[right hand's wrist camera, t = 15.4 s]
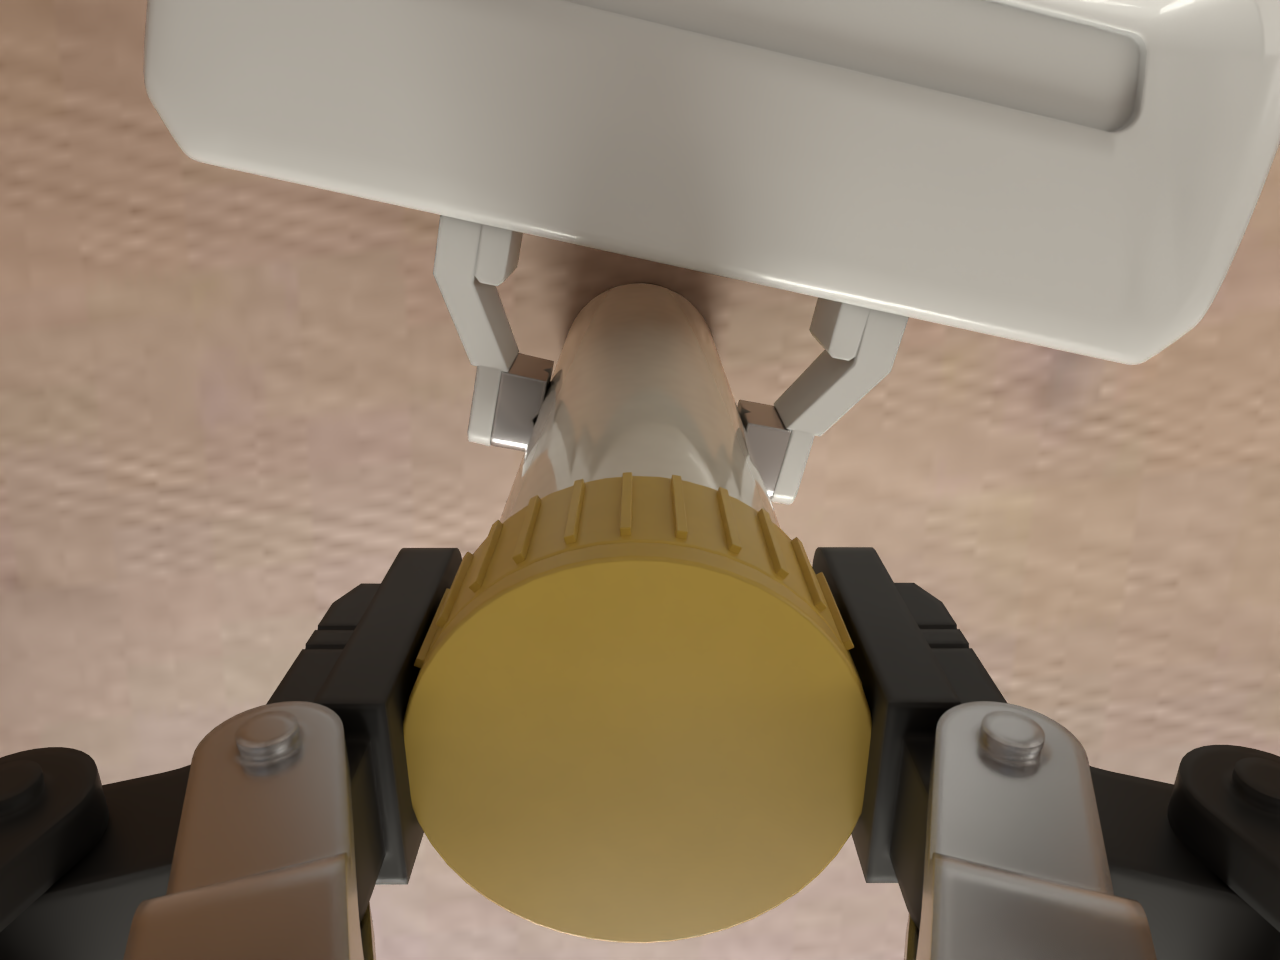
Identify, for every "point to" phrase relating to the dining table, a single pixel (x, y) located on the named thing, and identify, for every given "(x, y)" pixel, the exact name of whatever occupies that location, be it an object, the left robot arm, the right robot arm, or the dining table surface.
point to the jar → (639, 404)
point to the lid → (637, 714)
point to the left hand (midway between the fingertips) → (633, 466)
